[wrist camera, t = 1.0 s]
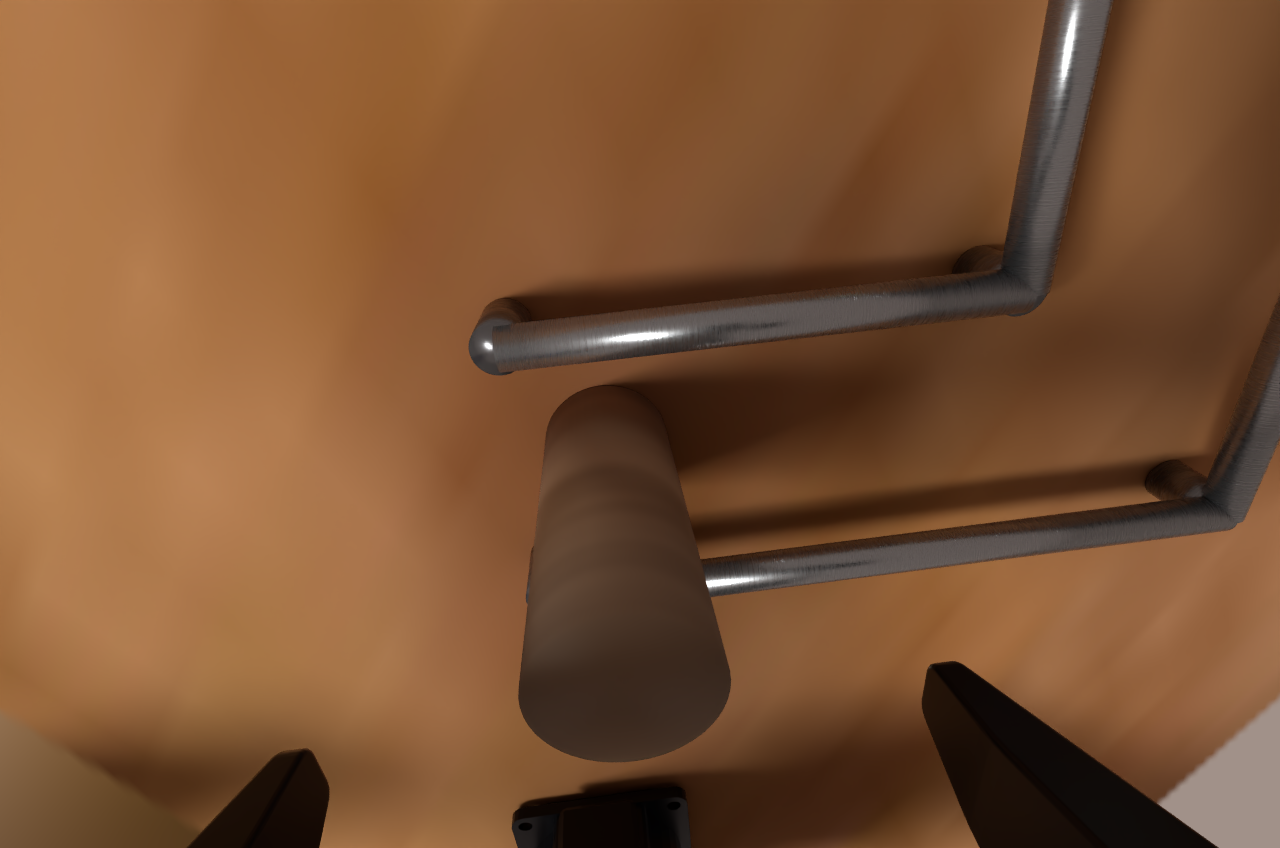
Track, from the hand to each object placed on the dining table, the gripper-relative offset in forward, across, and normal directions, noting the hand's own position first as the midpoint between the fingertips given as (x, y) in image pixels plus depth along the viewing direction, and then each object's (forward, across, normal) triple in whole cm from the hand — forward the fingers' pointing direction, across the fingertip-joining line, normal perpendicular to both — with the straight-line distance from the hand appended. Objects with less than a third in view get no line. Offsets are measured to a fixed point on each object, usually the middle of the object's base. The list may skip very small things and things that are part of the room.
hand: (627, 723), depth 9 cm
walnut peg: (+8, 0, 0) cm, 8 cm away
